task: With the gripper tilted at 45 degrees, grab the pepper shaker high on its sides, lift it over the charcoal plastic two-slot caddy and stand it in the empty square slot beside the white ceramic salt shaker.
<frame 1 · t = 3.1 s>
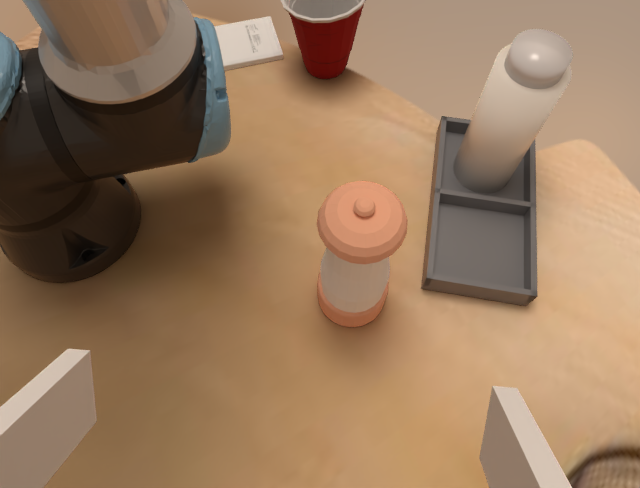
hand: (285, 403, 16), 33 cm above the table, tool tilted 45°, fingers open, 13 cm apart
plastic cup: (323, 65, 68), on the table
salt shaker: (481, 169, 58), point 1 cm above the table, touching shaker caddy
pepper shaker: (351, 295, 53), on the table
external hard drive: (235, 51, 70), on the table
shaker caddy: (477, 211, 57), on the table
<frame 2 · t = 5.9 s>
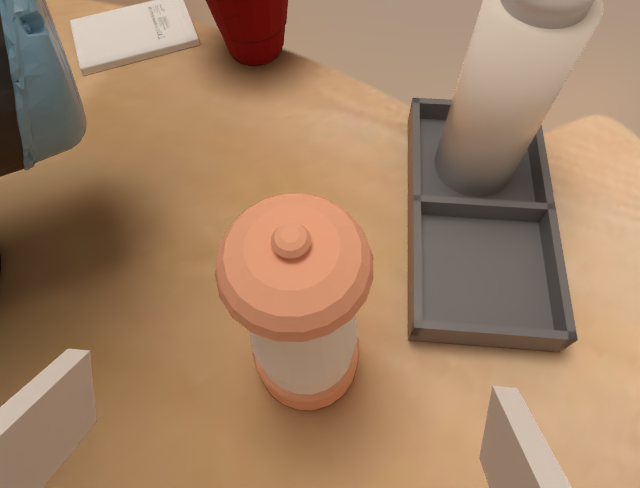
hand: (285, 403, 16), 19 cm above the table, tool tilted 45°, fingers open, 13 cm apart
plastic cup: (254, 49, 52), on the table
salt shaker: (473, 164, 43), point 1 cm above the table, touching shaker caddy
pepper shaker: (307, 360, 36), on the table
external hard drive: (138, 41, 54), on the table
shaker caddy: (473, 221, 41), on the table
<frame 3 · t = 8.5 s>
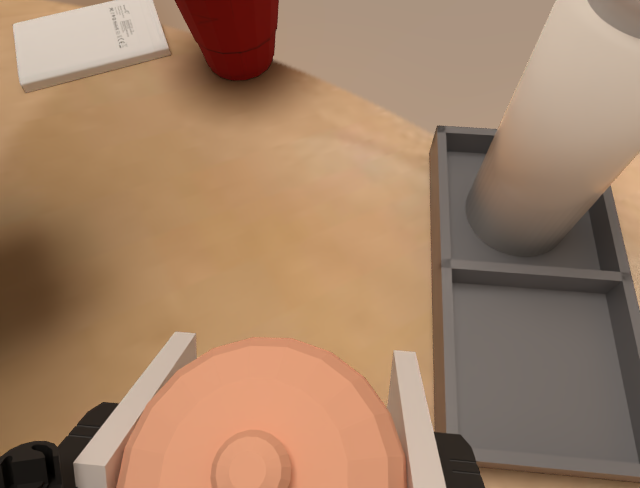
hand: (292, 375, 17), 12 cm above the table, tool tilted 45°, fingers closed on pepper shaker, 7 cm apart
plastic cup: (238, 60, 42), on the table
salt shaker: (515, 212, 33), point 1 cm above the table, touching shaker caddy
external hard drive: (96, 50, 44), on the table
shaker caddy: (518, 289, 32), on the table
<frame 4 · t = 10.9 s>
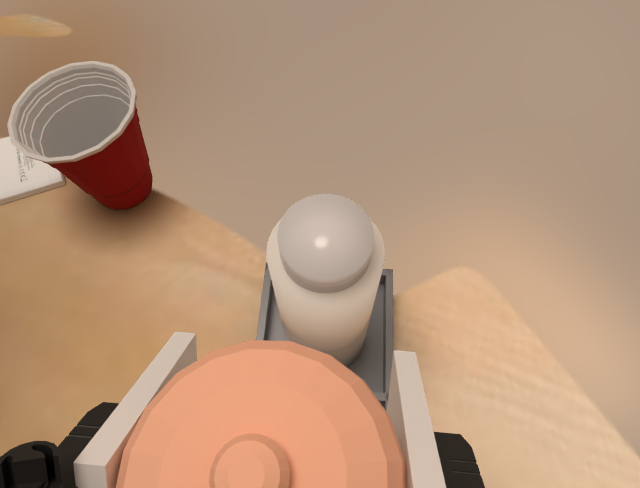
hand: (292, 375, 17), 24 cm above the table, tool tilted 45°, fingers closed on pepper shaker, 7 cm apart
plastic cup: (123, 188, 51), on the table
salt shaker: (325, 334, 42), point 1 cm above the table, touching shaker caddy
external hard drive: (5, 177, 52), on the table
shaker caddy: (321, 399, 40), on the table
when the fingers open (14 cm above the table, at t = 13.7 s): pepper shaker drops 1 cm, resting on shaker caddy.
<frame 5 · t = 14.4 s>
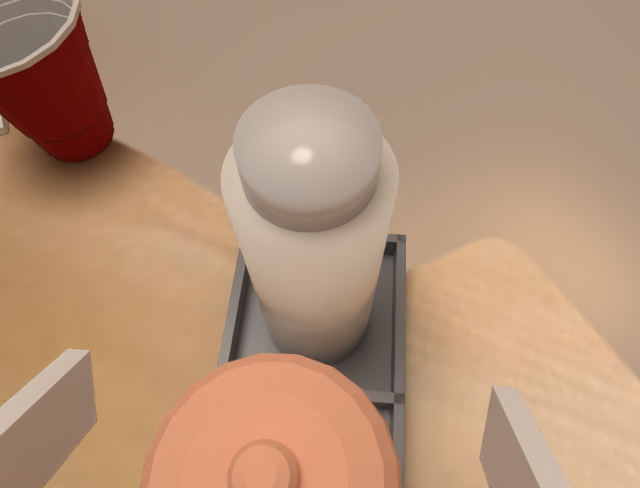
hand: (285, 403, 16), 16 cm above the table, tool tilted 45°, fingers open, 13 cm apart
plastic cup: (79, 138, 42), on the table
salt shaker: (317, 316, 33), point 1 cm above the table, touching shaker caddy
shaker caddy: (309, 399, 31), on the table
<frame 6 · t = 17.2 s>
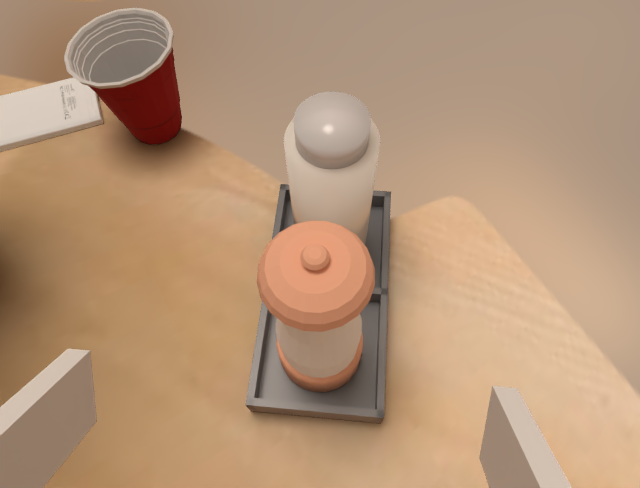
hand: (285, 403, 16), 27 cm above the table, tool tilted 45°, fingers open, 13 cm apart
plastic cup: (156, 127, 58), on the table
salt shaker: (330, 245, 48), point 1 cm above the table, touching shaker caddy
pepper shaker: (320, 351, 44), point 1 cm above the table, touching shaker caddy
external hard drive: (50, 118, 59), on the table
shaker caddy: (326, 299, 47), on the table
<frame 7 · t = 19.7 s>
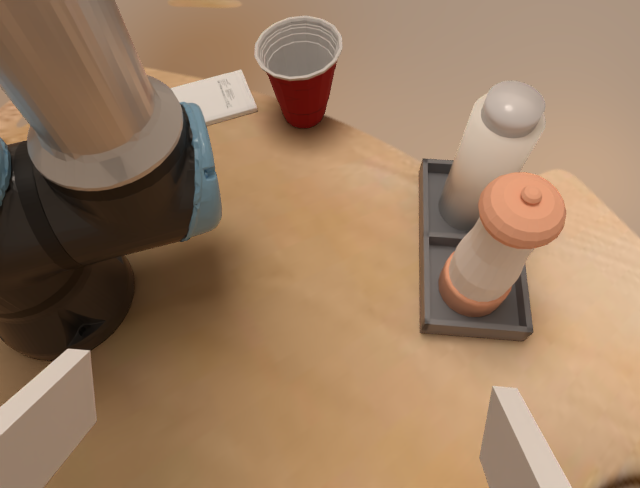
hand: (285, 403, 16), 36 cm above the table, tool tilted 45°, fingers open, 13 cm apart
plastic cup: (302, 114, 69), on the table
salt shaker: (466, 207, 60), point 1 cm above the table, touching shaker caddy
pepper shaker: (469, 287, 55), point 1 cm above the table, touching shaker caddy
external hard drive: (209, 107, 71), on the table
shaker caddy: (466, 249, 58), on the table
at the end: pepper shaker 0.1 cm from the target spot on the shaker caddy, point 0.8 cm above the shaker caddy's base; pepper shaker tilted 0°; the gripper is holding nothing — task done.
